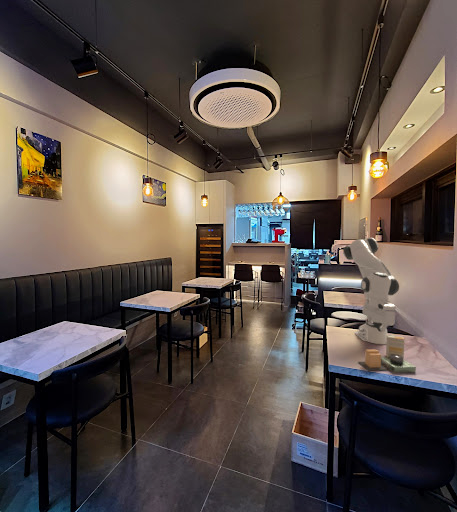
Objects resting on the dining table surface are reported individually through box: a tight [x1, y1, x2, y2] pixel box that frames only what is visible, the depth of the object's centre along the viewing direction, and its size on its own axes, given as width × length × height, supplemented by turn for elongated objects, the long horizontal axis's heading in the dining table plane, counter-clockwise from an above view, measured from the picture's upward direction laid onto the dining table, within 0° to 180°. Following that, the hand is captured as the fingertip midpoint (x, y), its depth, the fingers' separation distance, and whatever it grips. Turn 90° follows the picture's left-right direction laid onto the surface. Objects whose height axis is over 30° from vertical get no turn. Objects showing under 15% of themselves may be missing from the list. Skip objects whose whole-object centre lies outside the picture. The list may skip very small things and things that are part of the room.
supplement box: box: [385, 334, 406, 360], centre depth 146 cm, size 8×5×13 cm, turn 66°
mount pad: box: [357, 361, 389, 372], centre depth 136 cm, size 9×11×1 cm
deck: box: [381, 354, 417, 374], centre depth 136 cm, size 12×12×6 cm
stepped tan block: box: [364, 348, 382, 368], centre depth 136 cm, size 4×6×8 cm
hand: (376, 327), depth 134 cm, fingers open, 8 cm apart
